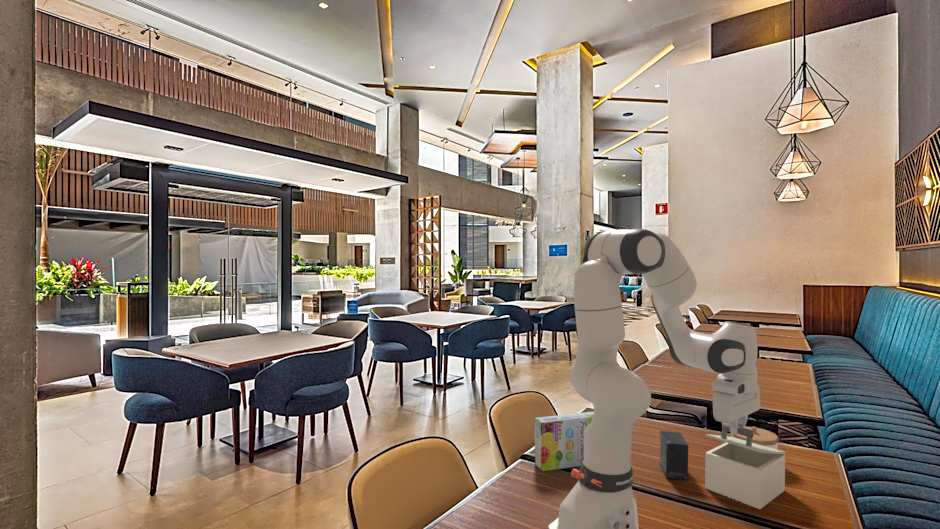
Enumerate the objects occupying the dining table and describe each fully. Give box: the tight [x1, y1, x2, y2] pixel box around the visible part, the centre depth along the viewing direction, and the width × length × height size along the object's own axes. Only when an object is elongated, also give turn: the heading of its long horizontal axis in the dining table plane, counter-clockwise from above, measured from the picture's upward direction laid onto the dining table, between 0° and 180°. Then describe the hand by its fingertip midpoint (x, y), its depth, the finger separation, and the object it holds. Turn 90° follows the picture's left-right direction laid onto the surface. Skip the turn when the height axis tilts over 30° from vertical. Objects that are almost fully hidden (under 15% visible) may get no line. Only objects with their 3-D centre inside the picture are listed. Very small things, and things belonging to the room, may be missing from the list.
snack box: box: [533, 411, 594, 472], centre depth 149 cm, size 21×6×15 cm, turn 105°
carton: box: [704, 442, 786, 510], centre depth 132 cm, size 16×14×10 cm
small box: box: [659, 430, 689, 481], centre depth 143 cm, size 11×6×10 cm, turn 168°
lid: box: [705, 422, 787, 455], centre depth 132 cm, size 16×14×5 cm
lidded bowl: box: [731, 426, 779, 450], centre depth 150 cm, size 13×13×11 cm
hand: (737, 432), depth 129 cm, fingers open, 2 cm apart
